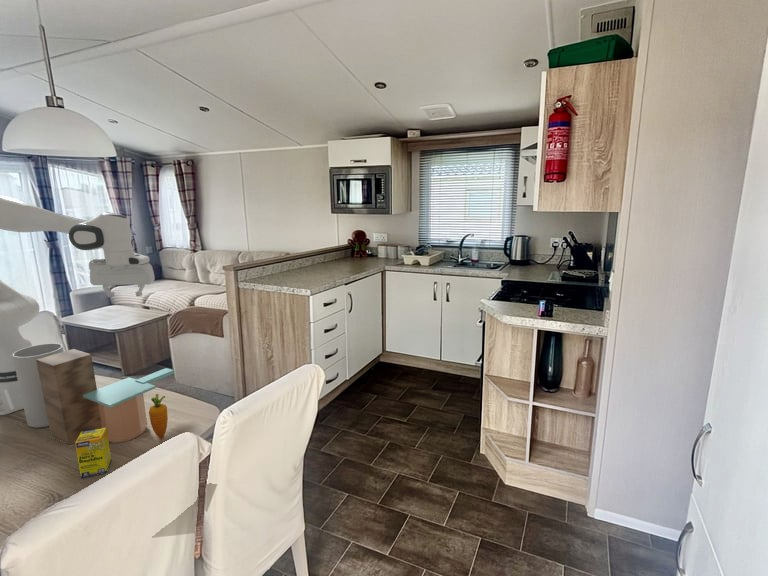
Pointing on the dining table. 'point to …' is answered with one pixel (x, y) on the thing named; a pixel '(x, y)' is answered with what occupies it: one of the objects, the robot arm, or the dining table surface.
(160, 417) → the carrot
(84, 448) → the supplement box
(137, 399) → the peach faceted hollow pot
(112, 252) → the robot arm
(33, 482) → the dining table surface
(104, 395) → the teal flat board
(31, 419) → the cylinder vase
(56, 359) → the pedestal
